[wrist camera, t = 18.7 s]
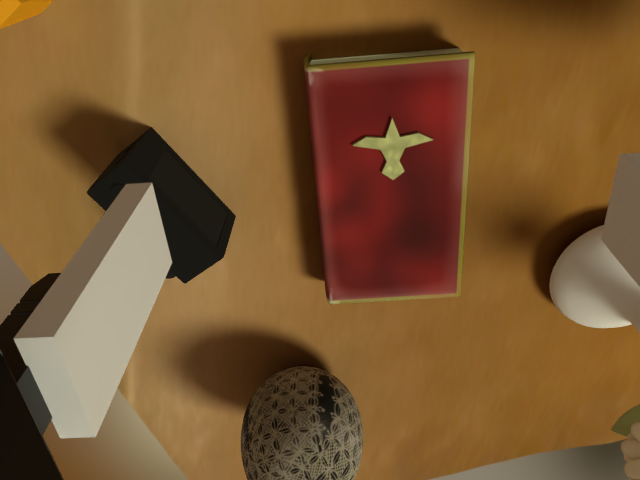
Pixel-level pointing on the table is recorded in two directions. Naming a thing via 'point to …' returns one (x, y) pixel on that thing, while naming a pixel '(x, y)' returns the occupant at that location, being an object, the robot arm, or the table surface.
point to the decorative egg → (302, 428)
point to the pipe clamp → (20, 10)
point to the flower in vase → (600, 311)
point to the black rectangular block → (172, 203)
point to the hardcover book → (391, 171)
